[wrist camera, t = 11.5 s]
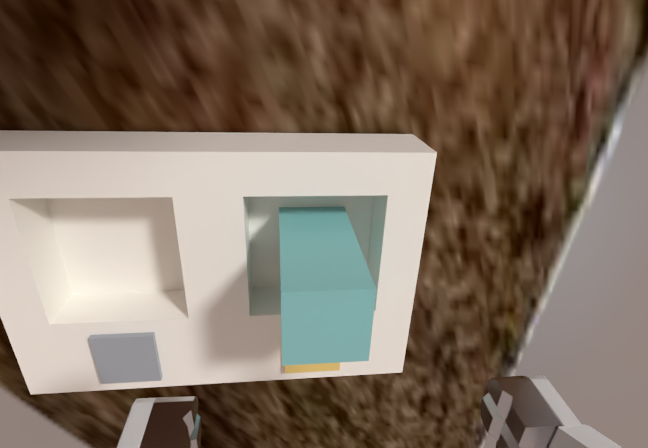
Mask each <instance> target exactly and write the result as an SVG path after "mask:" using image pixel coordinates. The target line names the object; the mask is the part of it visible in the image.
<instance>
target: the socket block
mask: <svg viewBox="0 0 648 448" xmlns="http://www.w3.org/2000/svg"><path fill="white" fill-rule="evenodd" d="M436 155H437V152H435V151H434V150H433V149H431V148H430V147H429V146H427V145H426V144H425V143H424V142H422V141H421V140H420V139H418V138H417V137H416V136H414V135H413V134H336V133H226V132H117V131H8V130H0V317H1V320H2V322H3V325H4V327H5V330H6V332H7V335H8V338H9V340H10V343H11V345H12V348H13V351H14V353H15V356H16V358H17V361H18V363H19V366H20V369H21V371H22V374H23V376H24V379H25V382H26V384H27V387H28V389H29V392H30V394H46V393H63V392H80V391H97V390H114V389H131V388H148V387H164V386H181V385H198V384H215V383H232V382H249V381H265V380H282V379H299V378H316V377H333V376H350V375H366V374H383V373H400V372H402V370H403V364H404V358H405V351H406V345H407V339H408V333H409V326H410V320H411V314H412V307H413V301H414V295H415V288H416V282H417V276H418V269H419V263H420V257H421V250H422V244H423V238H424V231H425V225H426V219H427V212H428V206H429V200H430V193H431V187H432V181H433V174H434V168H435V162H436ZM279 207H345V210H346V212H347V215H348V217H349V220H350V223H351V225H352V228H353V230H354V233H355V235H356V238H357V240H358V243H359V246H360V248H361V251H362V253H363V256H364V258H365V261H366V263H367V266H368V269H369V271H370V274H371V276H372V279H373V281H374V284H375V286H376V298H375V307H374V317H373V326H372V335H371V344H370V354H369V361H357V362H339V363H321V364H303V365H285V366H282V344H281V295H280V241H279Z"/></svg>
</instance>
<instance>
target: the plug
mask: <svg viewBox="0 0 648 448" xmlns="http://www.w3.org/2000/svg"><path fill="white" fill-rule="evenodd" d="M279 241H280V295H281V344H282V366H285V365H303V364H321V363H339V362H357V361H369V354H370V344H371V335H372V326H373V317H374V307H375V298H376V286H375V284H374V281H373V279H372V276H371V274H370V271H369V269H368V266H367V263H366V261H365V258H364V256H363V253H362V251H361V248H360V246H359V243H358V240H357V238H356V235H355V233H354V230H353V228H352V225H351V223H350V220H349V217H348V215H347V212H346V210H345V207H279Z"/></svg>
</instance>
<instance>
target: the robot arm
mask: <svg viewBox="0 0 648 448" xmlns="http://www.w3.org/2000/svg"><path fill="white" fill-rule="evenodd" d="M486 388H487V390H488V392H489V393H488V394H487V395H486V396H485V397H483V399H482V403H481V406H480V408H481V417H482V421H483V424H484V426H485V428H486V430H487V432H488V434H490V435H491V436H492V437H494V438H495V439H496V440H497V444H496V448H622V447H620V446H619V445H617V444H616V443H614V442H613V441H611V440H610V439H608V438H606V437H605V436H603V435H602V434H600V433H599V432H597V431H596V430H594V429H593V428H591V427H589V426H588V425H581V423H580V422H579V421H578V419H577V418H576V417H575V415H574V414H573V413H572V411H571V410H570V409H569V407H568V406H567V405H566V403H565V402H564V401H563V399H562V398H561V397H560V395H559V394H558V393H557V391H556V390H555V389H554V387H553V386H552V385H551V383H550V382H549V381H548V379H547V378H546V377H544V376H543V375H534V376H513V377H500V378H491V379H490V380H489V381H488V383H487V386H486ZM198 406H199V405H198V400H197V397H196V396H192V397H162V398H141V399H136V400H135V402H134V403H133V405H132V407H131V410H130V412H129V415H128V418H127V421H126V423H125V426H124V429H123V431H122V434H121V437H120V439H119V442H118V445H117V448H200V444H201V432H202V431H201V418H200V416H199V415H198V414H197V411H198Z"/></svg>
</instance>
